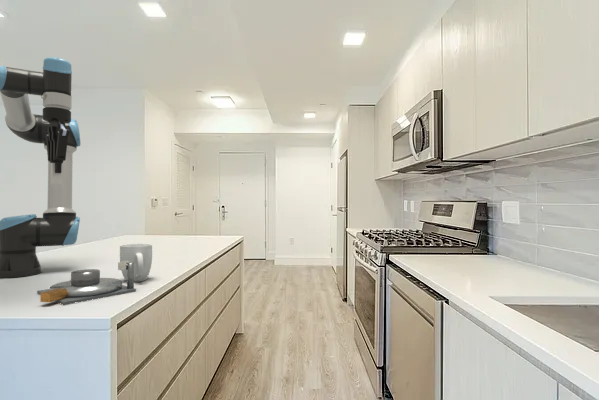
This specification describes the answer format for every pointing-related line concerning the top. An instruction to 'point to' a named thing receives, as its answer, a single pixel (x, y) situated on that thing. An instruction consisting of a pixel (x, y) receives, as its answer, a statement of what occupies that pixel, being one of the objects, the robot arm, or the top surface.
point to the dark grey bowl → (85, 277)
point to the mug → (137, 259)
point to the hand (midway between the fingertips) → (56, 183)
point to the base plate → (84, 298)
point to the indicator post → (128, 272)
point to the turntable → (79, 289)
